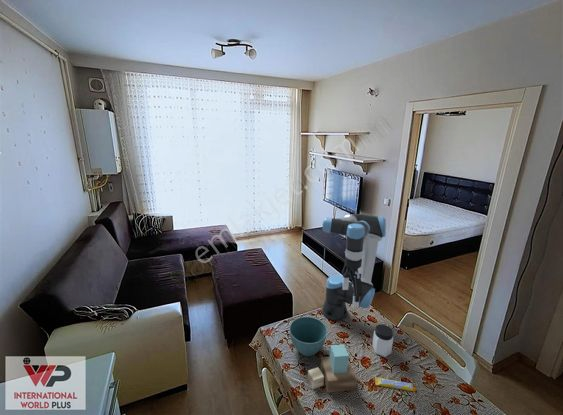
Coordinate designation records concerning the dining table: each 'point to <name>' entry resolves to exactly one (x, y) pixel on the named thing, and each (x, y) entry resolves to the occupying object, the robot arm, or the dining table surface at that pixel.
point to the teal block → (338, 359)
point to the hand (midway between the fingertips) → (350, 297)
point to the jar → (382, 340)
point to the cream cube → (315, 378)
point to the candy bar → (395, 384)
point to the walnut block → (337, 377)
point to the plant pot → (308, 335)
